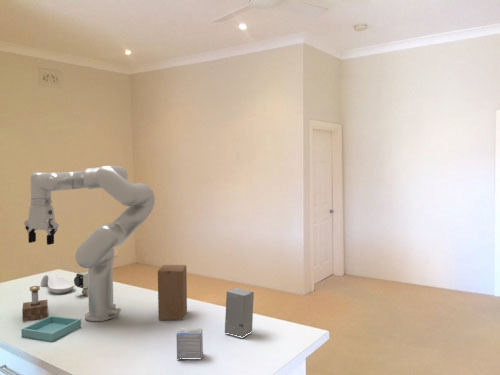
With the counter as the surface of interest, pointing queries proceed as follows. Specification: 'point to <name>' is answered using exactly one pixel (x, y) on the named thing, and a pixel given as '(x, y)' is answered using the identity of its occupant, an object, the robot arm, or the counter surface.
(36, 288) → the lock pin
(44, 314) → the block
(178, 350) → the medicine box
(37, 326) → the tray
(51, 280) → the spoon rest
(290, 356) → the counter surface
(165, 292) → the wooden block
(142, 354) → the counter surface
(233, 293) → the skincare box
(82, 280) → the pneumatic valve
